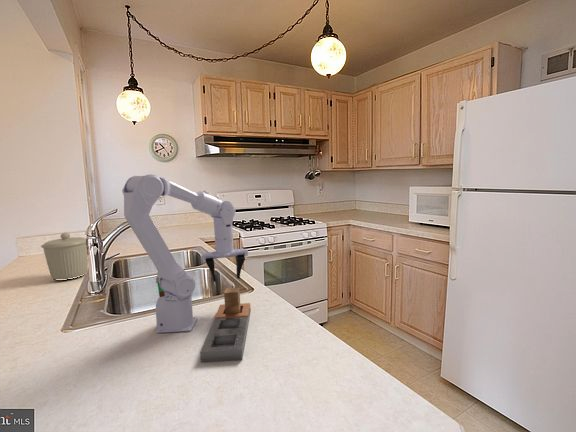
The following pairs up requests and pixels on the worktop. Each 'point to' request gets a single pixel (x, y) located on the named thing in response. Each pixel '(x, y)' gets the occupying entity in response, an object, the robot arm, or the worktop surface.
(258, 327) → the worktop surface
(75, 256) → the canister
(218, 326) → the rail
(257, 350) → the worktop surface
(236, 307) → the peg
